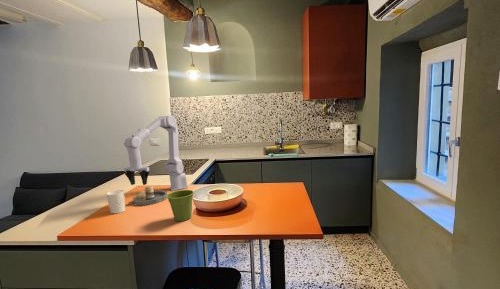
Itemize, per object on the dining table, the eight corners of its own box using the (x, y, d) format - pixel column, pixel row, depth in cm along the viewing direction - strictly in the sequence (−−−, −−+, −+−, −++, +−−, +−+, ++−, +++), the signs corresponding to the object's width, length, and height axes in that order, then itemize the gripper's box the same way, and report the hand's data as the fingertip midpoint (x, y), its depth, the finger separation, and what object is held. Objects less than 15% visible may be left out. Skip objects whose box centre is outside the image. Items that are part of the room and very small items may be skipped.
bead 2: (154, 194, 168) (152, 185, 167) (154, 196, 164) (153, 187, 163) (145, 195, 166) (144, 187, 166) (146, 198, 162) (144, 189, 161)
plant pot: (200, 218, 127) (197, 193, 126) (173, 226, 122) (170, 200, 120) (192, 210, 138) (189, 187, 136) (166, 217, 132) (163, 193, 130)
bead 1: (141, 199, 160) (139, 191, 159) (147, 199, 159) (146, 191, 158) (135, 202, 156) (133, 193, 155) (142, 202, 154) (140, 193, 154)
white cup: (106, 213, 145) (102, 194, 144) (119, 207, 152) (116, 189, 151) (116, 215, 142) (113, 195, 140) (130, 209, 148) (127, 190, 147)
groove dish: (165, 192, 172) (165, 188, 172) (169, 200, 156) (168, 196, 155) (133, 198, 166) (133, 194, 165) (133, 208, 149) (132, 203, 149)
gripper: (118, 161, 153) (122, 186, 155) (141, 160, 148) (145, 186, 150) (128, 158, 159) (132, 182, 161) (150, 157, 154) (154, 182, 156)
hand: (139, 184), depth 156 cm, fingers open, 7 cm apart
